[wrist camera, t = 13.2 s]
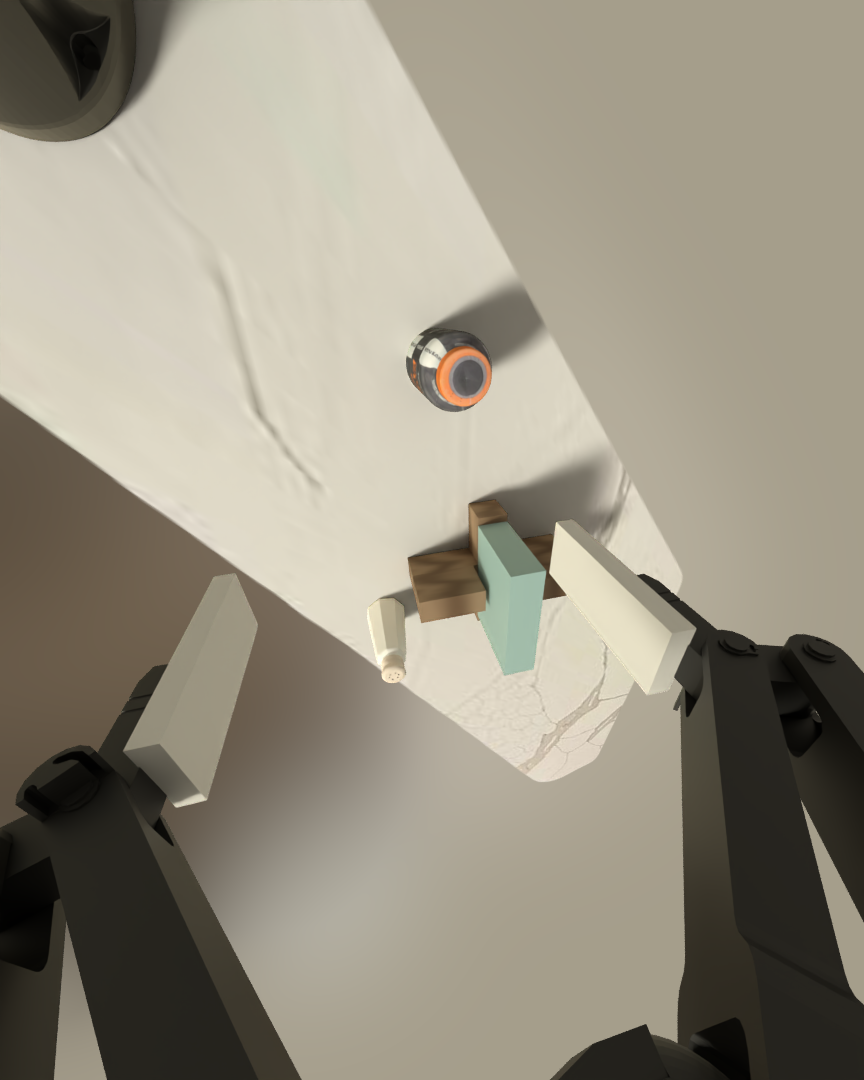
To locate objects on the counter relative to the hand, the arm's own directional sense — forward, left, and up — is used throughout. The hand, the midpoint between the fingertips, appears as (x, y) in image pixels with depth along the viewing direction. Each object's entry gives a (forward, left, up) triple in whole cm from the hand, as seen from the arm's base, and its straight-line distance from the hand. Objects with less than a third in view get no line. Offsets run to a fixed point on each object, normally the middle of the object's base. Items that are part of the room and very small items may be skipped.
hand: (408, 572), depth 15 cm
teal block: (+19, +12, -23) cm, 32 cm away
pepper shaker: (+26, -2, -27) cm, 37 cm away
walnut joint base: (+19, +12, -27) cm, 35 cm away
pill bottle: (-5, +7, -27) cm, 28 cm away
